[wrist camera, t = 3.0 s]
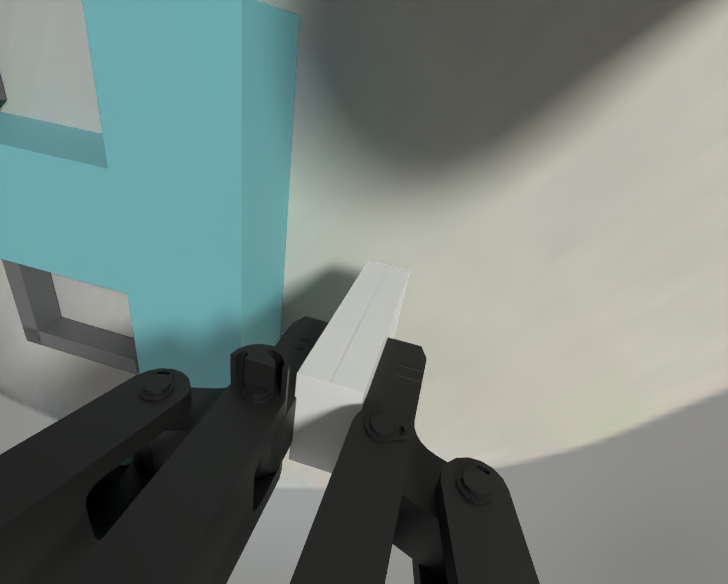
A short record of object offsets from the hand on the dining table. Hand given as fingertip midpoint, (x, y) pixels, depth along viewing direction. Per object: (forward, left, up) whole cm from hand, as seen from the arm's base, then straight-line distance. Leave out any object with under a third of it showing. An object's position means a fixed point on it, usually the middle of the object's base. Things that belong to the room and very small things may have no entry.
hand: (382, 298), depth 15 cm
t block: (0, -13, -3) cm, 13 cm away
